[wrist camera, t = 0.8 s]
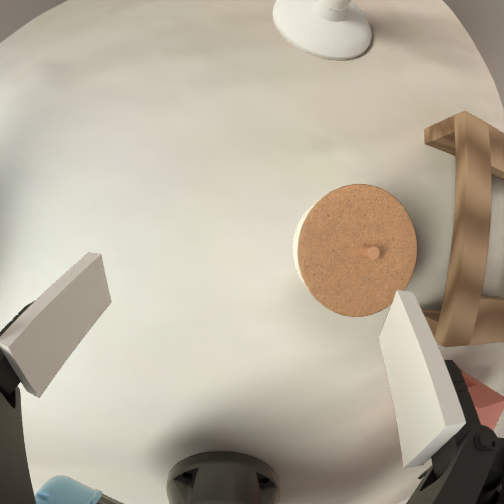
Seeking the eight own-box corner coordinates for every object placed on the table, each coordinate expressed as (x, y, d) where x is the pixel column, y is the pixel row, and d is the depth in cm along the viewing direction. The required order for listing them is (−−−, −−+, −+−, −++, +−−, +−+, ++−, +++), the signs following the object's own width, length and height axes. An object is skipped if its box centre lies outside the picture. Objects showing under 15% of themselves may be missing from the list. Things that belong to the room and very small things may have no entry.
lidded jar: (383, 284, 31) (433, 302, 22) (291, 307, 31) (317, 339, 21) (368, 187, 30) (417, 174, 21) (272, 203, 30) (292, 191, 20)
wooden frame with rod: (491, 324, 33) (537, 341, 23) (405, 325, 32) (456, 353, 22) (506, 167, 32) (553, 159, 22) (424, 129, 30) (476, 105, 20)
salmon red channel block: (435, 412, 34) (480, 452, 22) (405, 418, 33) (450, 465, 21) (452, 365, 33) (507, 399, 21) (422, 368, 33) (479, 408, 21)
